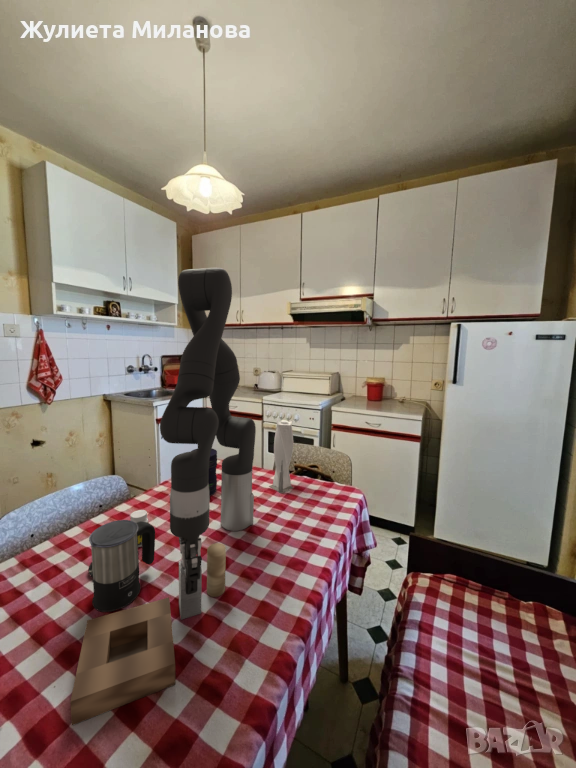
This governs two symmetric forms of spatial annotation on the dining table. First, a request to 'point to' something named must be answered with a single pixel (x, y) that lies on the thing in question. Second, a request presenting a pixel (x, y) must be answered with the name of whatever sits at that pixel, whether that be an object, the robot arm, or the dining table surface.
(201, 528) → the robot arm
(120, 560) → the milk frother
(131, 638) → the bore block
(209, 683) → the dining table surface
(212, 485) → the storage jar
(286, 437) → the skyscraper
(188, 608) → the square peg
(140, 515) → the supplement bottle
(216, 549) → the round dowel
